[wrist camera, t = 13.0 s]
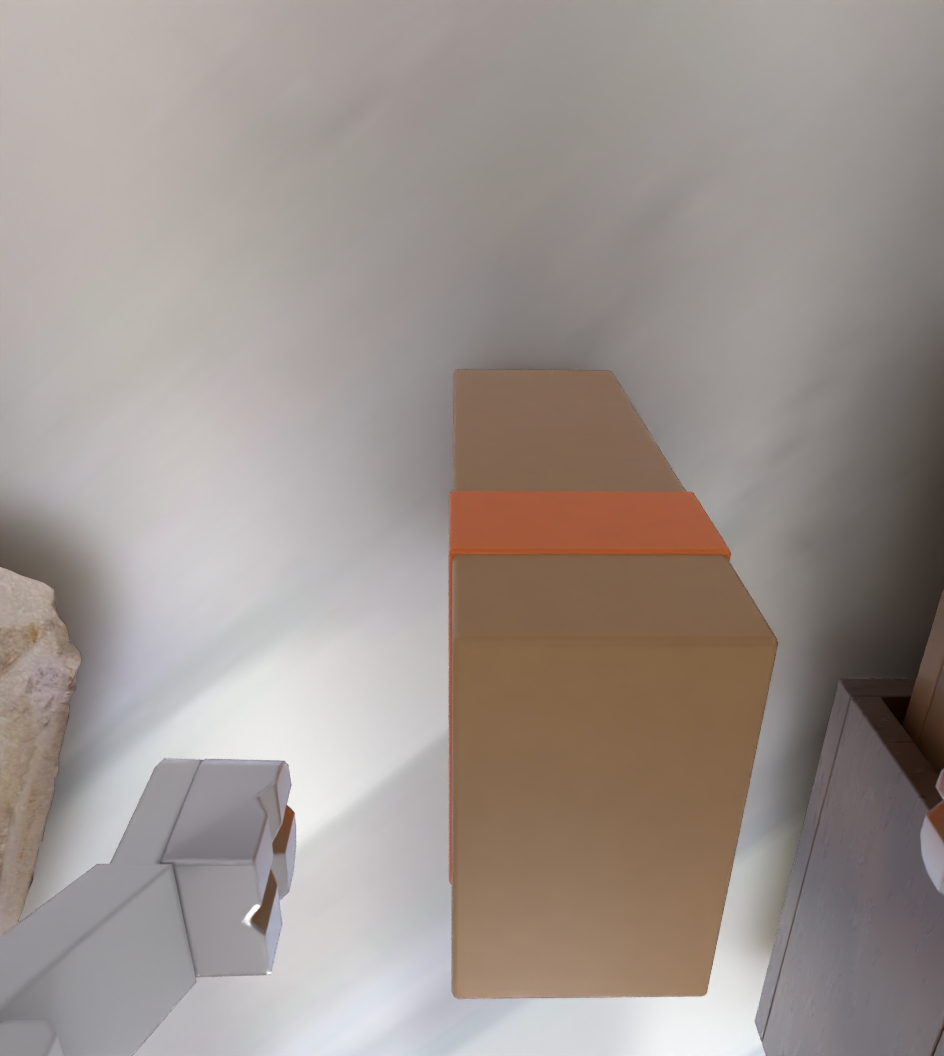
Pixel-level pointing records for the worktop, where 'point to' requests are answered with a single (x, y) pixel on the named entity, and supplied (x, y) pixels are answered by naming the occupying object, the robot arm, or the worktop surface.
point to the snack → (589, 698)
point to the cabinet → (861, 896)
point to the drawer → (929, 697)
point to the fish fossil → (29, 727)
